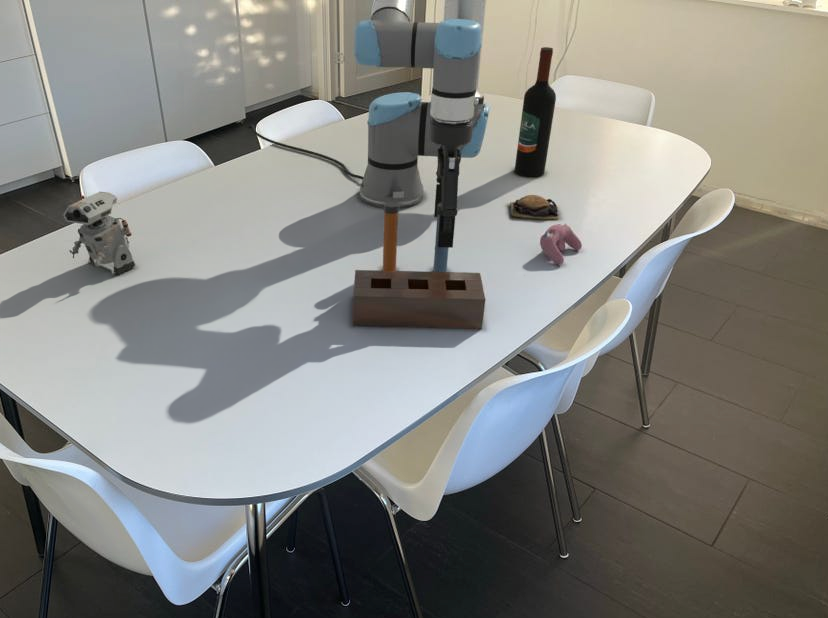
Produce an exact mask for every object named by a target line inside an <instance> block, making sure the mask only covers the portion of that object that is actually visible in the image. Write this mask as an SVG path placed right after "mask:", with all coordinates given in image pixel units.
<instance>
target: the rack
mask: <svg viewBox="0 0 828 618" xmlns="http://www.w3.org/2000/svg"><path fill="white" fill-rule="evenodd" d="M485 306H486V295H485V290H484V284H483V280H482V275H481V272H465V271H464V272H463V271H462V272H461V271H447V272H433V271H423V270H422V271H421V270H420V271H419V270H418V271H417V270H416V271H415V270H396V271H383V270H378V269H377V270H375V269H374V270H371V269H370V270H369V269H355V271H354V282H353V292H352V326H353V327H382V328H383V327H386V328H421V329H422V328H423V329H424V328H426V329H427V328H428V329H433V328H434V329H460V330H461V329H466V330H483V324H484V316H485Z"/></svg>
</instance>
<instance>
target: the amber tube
mask: <svg viewBox="0 0 828 618" xmlns="http://www.w3.org/2000/svg"><path fill="white" fill-rule="evenodd" d="M399 211H400V208H399V204H398V203H397V202H394V201H389V202H385V203H384V208H383V245H382V271H397V253H398V252H397V250H398V249H397V248H398V225H399V222H398V221H399Z"/></svg>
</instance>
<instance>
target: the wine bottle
mask: <svg viewBox="0 0 828 618" xmlns="http://www.w3.org/2000/svg"><path fill="white" fill-rule="evenodd" d="M539 52H540V53H539V61H538V68H537V74H536V79H535V83H534V84H533V85H532V86H530V87H528V88H527V90H526V92H524V96H523V102H522V111H521V119H520V125H519V126H520V127H519V134H518V141H517V148H516V156H515V164H514V173H515V175H516V176H519V177H522V178H527V179H534V178H536V179H537V178H541V177H543V176H544V175H545V171H546V165H547V160H548V159H547V158H548V153H549V146H550V139H551V133H552V126H553V120H554V114H555V108H556V102H557V95H556V92H555V89H553V87H551V86H550V85H549V78H550V72H551V65H552V60H553V59H552V58H553V54H554V48H553V47H547V46H544V47H543V46H542V47H541V48H540V51H539Z"/></svg>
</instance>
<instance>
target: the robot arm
mask: <svg viewBox="0 0 828 618" xmlns="http://www.w3.org/2000/svg"><path fill="white" fill-rule="evenodd" d="M414 5H415V0H373V1H372V6H371V12H370V17H369V19H367V20H360V21H358V22H357V24H356V25H355V31H354V44H353V45H354V58H355V61H356V63H357V64H358V65H360V66H366V67H367V66H368V67H375V68H408V69H409V68H411V69H412V68H415V69H431V70H433V71H432V88H431V93H430V101H422V100H423V99H422V97H421V95H420V94H419V93H416V92H409V91H407V92H406V91H404V92H401V91H400V92H393V93H389V94H384V95H382V96H379V97H377V98H374V100H372V101H371V102H370V104H369V108H368V117H367V122H366V123H367V125H368V126H367V128H368V129H367V141H368V142H367V165H366V168H365V171H364V175H363V176H362V175H359V174H355V173H352V172H351V171H349V170H348V168H347V166H346V165H345V164H344V163H342V162H341V161H339V160H337V159H335V158H332V157H330V156H328V155H325V154H322V153H319V152H315V151H312V150H309V149H304V148H301V147H296V146H293V145H289V144H285V143H283V142H282V143H281V142H278V141H275V140H272V139H270V138H268V137H266V136H264V135H262V134H260V133H258V131H256V129H255V126H254V125H253V124H249V125H248V129H251V130H252V132H253V134H255V135H256V136H257V137H258V138H259V139H262V140H264V141H265V142H269V143H271V144H274V145H277V146H280V147H283V148H287V149H289V150H290V149H291V150H294V151H299V152H303V153H306V154H309V155H314V156H317V157H320V158H323V159H326V160H328V161H331V162H333V163H335V164H337V165H339V166H340V167H341V168H342V169H343V171H344V172H345V173H346V174H347V175H348V176H349V177H352V178H355V179H356V178H357V179H359V180H361V183H360V186H359V197H360V198H359V199H361V200H362V202H364V203H366V204H368V205H370V206H373V207H378V208H383V209H384V203H385V202H389V201H394V202H397V203H398V204H399V209H402V208H409V207H412V206H414V205H417V204H420V202H422V200H424V193H425V192H424V191H425V190H424V184H423V183H422V179H421V174H420V170H419V166H418V165H419V164H418V163H419V162H418V160H419V157H436V158H437V167H436V172H435V175H436V180H435V181H436V184H435V185H436V187H435V199H434V201H435V202H434V212H433V213H434V214H433V216H434V218H437V215H440V220H439V234H438V247H448V249H450V248H452V249H453V248H454V237H455V236H454V235H455V225H456V217H457V216H458V194H459V193H458V192H459V175H460V164H461V161H462V159H473V158H475V157H477V156H478V155H479V154H480V152H481V149H482V146H483V141H484V138H485V133H486V130H487V126H488V125H487V124H488V119H489V113H490V105H489V104H487V103H484V102H485V95H484V93H482V91H481V89H480V88H479V81H480V69H481V59H482V50H483V49H482V48H483V38H484V37H483V36H484V28H485V27H484V26H485V17H486V5H487V0H444V9H443V20H442V21H440V22H422V21H421V22H418V21H413V14H414V13H413V12H414ZM441 202H442V204H441V210H438V211H437V206H438V204H439V203H441Z"/></svg>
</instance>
